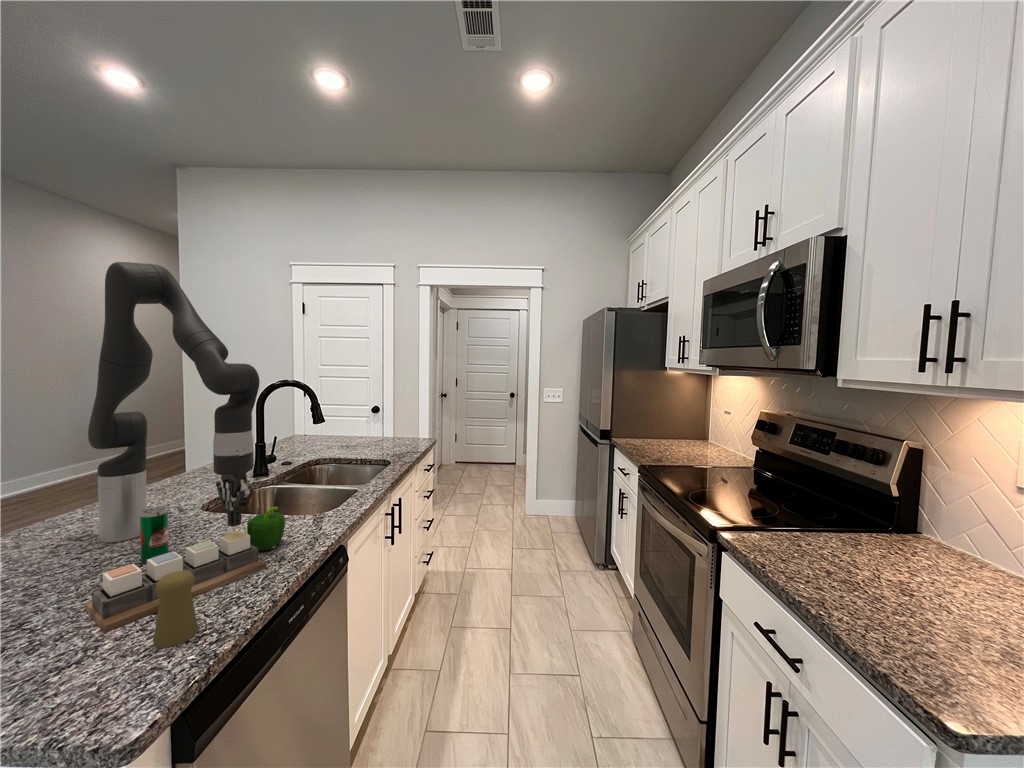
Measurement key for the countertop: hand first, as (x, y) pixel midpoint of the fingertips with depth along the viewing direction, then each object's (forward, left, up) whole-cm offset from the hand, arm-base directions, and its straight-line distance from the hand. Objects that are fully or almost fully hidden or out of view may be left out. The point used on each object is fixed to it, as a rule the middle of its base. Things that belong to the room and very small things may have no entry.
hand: (234, 525), depth 92 cm
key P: (0, 0, -6) cm, 6 cm away
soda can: (-20, -8, -10) cm, 24 cm away
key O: (0, -19, -6) cm, 20 cm away
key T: (0, -13, -6) cm, 14 cm away
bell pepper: (-5, +10, -10) cm, 15 cm away
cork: (+17, -16, -10) cm, 26 cm away
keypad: (0, -9, -10) cm, 14 cm away
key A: (0, -6, -6) cm, 9 cm away
